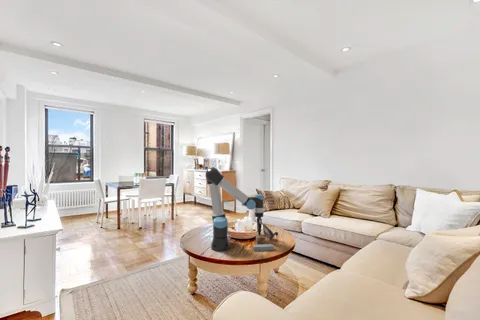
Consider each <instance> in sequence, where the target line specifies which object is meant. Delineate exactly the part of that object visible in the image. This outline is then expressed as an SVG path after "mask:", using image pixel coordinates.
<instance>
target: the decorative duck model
mask: <svg viewBox="0 0 480 320" xmlns="http://www.w3.org/2000/svg"><path fill="white" fill-rule="evenodd" d="M262 231H263V235H264V236H265V238H267V239H270V240H272V239H273V238H275V236H276V237H278V235H279V232H278V231H275V232H274V233H273V231H272V230H271V229H270V228H269V227H268V226H267V225H266V224H263V223H262Z"/></svg>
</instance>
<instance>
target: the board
mask: <svg viewBox="0 0 480 320" xmlns="http://www.w3.org/2000/svg"><path fill="white" fill-rule="evenodd" d="M252 249H253V252H256V251H257V252H258V251H259V252H260V251H275V246H274V244H271V243H270V244H267V243H265V244H261V245H257V244H252Z"/></svg>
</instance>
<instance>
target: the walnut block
mask: <svg viewBox="0 0 480 320" xmlns="http://www.w3.org/2000/svg"><path fill="white" fill-rule="evenodd" d="M255 244H256V245H261V244H266V237H265V236H264V234H261V235H258V234H256V235H255Z"/></svg>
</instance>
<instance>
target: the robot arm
mask: <svg viewBox="0 0 480 320" xmlns="http://www.w3.org/2000/svg"><path fill="white" fill-rule="evenodd" d="M205 179H206V185H208V187H209V193H210V200H211V206H212V214H211V217H212V219H211V220H212V228H213V229H212V233H213V234H212V236H213V237H212V242H211V243H210V249H211V250H213V251H216V252H222V251H227V250H230V248H231V245H230V241H229V238H228V234H229V232H228V229H229V227H228V225H229V222H228V220H229V219H228V218H226V212H224V208H223V202H222V201H223V200H222V195H221V189H222V190H223V191H225V192H226V193H227V194H229V195H231V196H232V197H233V198H234V199H236V200H237V201H238V202H240V203H241V206H242V207H246V208H247V209H248V210H254V217H255V218H256V232H257V235H262V226H263V222H262V219H263V217H264V209H265V208H264V194H262V193H261V194H260V193H259V194H258V193H257V194H254V196H248V195H246V194H245V193H244V192H243V191H242V190H240V189H239V188H238V187H236V186H235V185H234V184H232V183H231V182H230V181H229V180H228V179H226V178H225V176H224V175H223V174H222V173H221V172H220V171H219V170H218V168H216V167H209V168H208V169H207V170H206V171H205ZM220 188H221V189H220Z"/></svg>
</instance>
